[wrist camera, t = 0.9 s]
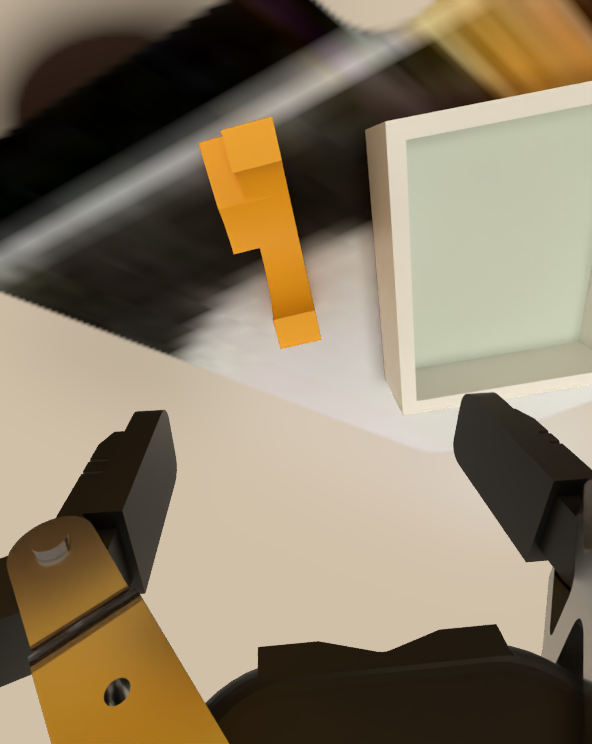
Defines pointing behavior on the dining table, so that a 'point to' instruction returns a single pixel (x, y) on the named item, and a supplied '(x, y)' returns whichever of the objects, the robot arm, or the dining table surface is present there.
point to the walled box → (485, 247)
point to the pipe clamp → (263, 220)
